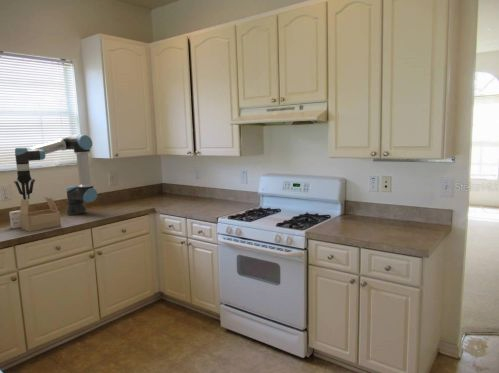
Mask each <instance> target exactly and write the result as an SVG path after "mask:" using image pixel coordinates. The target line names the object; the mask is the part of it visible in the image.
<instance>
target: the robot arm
mask: <svg viewBox="0 0 499 373" xmlns="http://www.w3.org/2000/svg"><path fill="white" fill-rule="evenodd" d="M92 147H93V141H92V138H91V137H90V136H89V135H87V134H69V135H67V136H64V137H60V138H58V139H57V140H54V141H51V142H48V143H43V144H40V145H39V144H38V145H34V146H33V147H32V146H31V147H16V148H15V149H14V156H15V163H16V170H17V172H16V173H17V179H16V180H14V181H13V183H14V184H15V186H16V189H17V191H18V193H19V194H20V195H22V199H24V200H28V201H29V200H30V198H31V197H30V194H33V189H34V184H35V181H36V179H34V178H32V176H31V171H30V169H31V168H30V162H32V161H33V162H35V161H42V160H43V161H44V160H45V158H46V155H48V154H51V153H55V152H57V151H67V150H73V152H74V154H75V155H76V162H77V172H78V181H79V182H78V183H79V184H78V185H71V186H68V187H67V188H66V198H67V200H66V201H67V208H66V212H65V213H66V215H67V216H80V215H84V214H86V213H87V209H86V207H85V204H84V203H87V204H88V203H92V202H95V200H96V199H97V197H98V191H97V189H96V188H94V185H93V183H92V179H91V170H90V168H91V167H90V159H89V153H90V152H91V149H92ZM20 185H21V186H20Z"/></svg>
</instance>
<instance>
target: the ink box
mask: <svg viewBox="0 0 499 373" xmlns="http://www.w3.org/2000/svg"><path fill="white" fill-rule="evenodd" d="M8 213H9V214H8V215H9V220H10V222H9V223H10V228H11V229H13V230H14V229H19V228H21V227H20V218H19V214H21V213H20V209H19V210H14V211H13V210H12V211H8Z"/></svg>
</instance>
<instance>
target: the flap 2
mask: <svg viewBox="0 0 499 373" xmlns="http://www.w3.org/2000/svg"><path fill="white" fill-rule="evenodd" d="M43 197H44V199H45V201H46V203H47V205H48V207H49V209H52V210H56V211H59V209H58V207H57V205H56V203H55V201H54V199H53V198H52V197H48V196H45V195H44V196H43Z"/></svg>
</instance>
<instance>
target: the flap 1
mask: <svg viewBox="0 0 499 373" xmlns="http://www.w3.org/2000/svg"><path fill="white" fill-rule="evenodd" d="M29 205H30V201H29V199H28V200H24V199H23V198H20V208H19V210H20V213H21V214H24V215H27V216H28V212H29V208H30V207H29Z"/></svg>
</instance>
